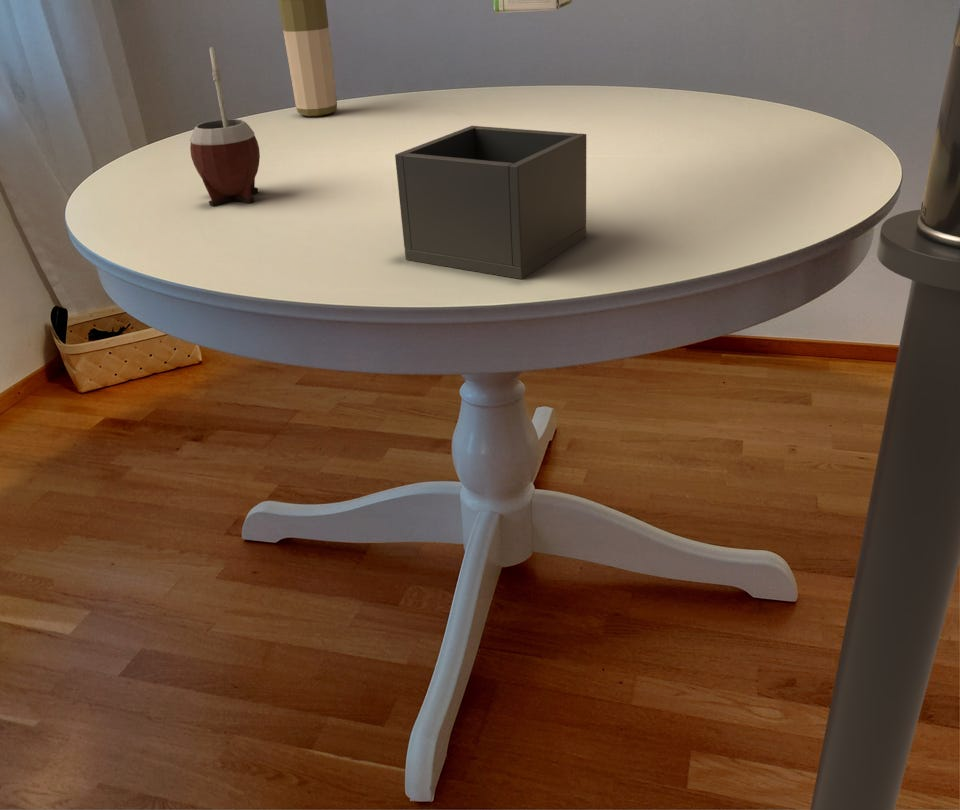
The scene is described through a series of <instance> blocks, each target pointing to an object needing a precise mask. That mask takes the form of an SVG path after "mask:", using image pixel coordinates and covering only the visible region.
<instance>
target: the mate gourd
mask: <svg viewBox="0 0 960 810" xmlns="http://www.w3.org/2000/svg"><path fill="white" fill-rule="evenodd" d="M209 54H210V61H211V68H212V72H211V74H212V80H213V82H214V84H215V89H216V94H217V100H218V105H219V111H220V115H221V119H216V120H211V121H205V122H201V123H199V124H196V126H195V127H194V128H193V130H192V133H191V135H190V139H189V142H190V151H189V152H190V159H191V160H192V163H193V165H194V168H195V170H196V172H197V173H198V175H199V177H200V178H201V180H202V183H203V185H204V187H205V189H206V191H207V193H208V195H209V197H210V199H211V200H209V201H208V204H209V206H210V207H217V206H219V205H222V204H226V203H229V202H232V201H236V202H240V203H245V204H251V203H255V197H253V196H252V195H255V194H258V193H259V188H258V187H256V185H255V184H256V183H255V182H256V177H257V174H258V171H259V166H260V157H261V156H260V155H261V154H260V147H259V143H258V140H257V138H256V135H255V131H254V130H253V129H252V128H251V126H250V125H249V123H248V122H246V121H244V120H243V119H238V118H237V119H236V118H228V114H227V109H226V105H225V99H224V94H223V93H224V92H223V88H222V76H221V72H220V71H219V66H218V61H217V54H216V49H215V47H214V46H210V47H209Z"/></svg>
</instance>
